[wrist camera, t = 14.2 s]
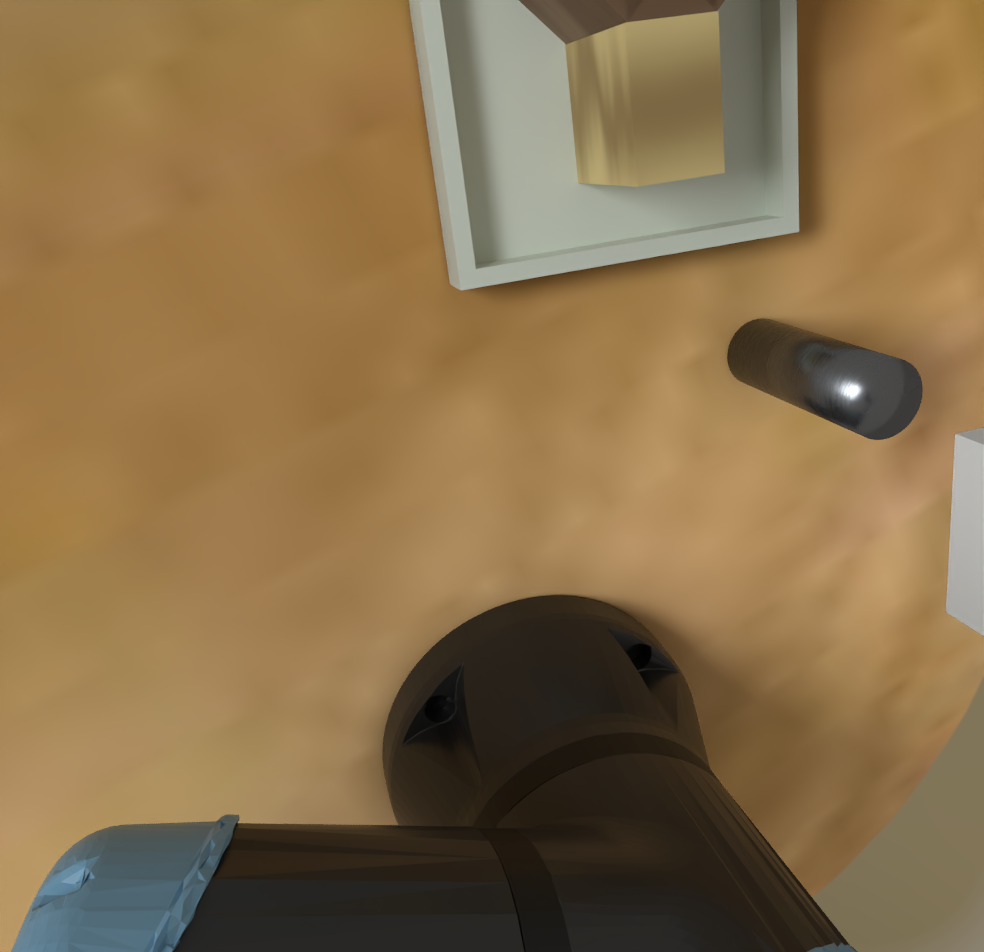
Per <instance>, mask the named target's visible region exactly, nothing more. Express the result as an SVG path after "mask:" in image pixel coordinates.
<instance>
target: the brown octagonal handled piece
mask: <svg viewBox="0 0 984 952" xmlns="http://www.w3.org/2000/svg"><path fill="white" fill-rule="evenodd" d="M519 1H520V2H521V3H522V4H523V5H524V6H525V7H526V8H527V9H528V10H529V11H531V12H532V13H533V14H534V15H535V16H536V17H537V18H538V19H539V20H540V21H541V22H542V23H543V24H545V25H546V26H547V27H548V28H549V29H550V30H551V31H552V32H553V33H554V34H555V35H556V36H557V37H559V38H560V39H561V40H562V41H563V42H564V43H565V44H566V45H565V49H566V60H567V70H568V81H569V91H570V102H571V112H572V123H573V134H574V144H575V155H576V165H577V176H578V183H585V184H601V185H617V186H633V187H640V186H646V185H652V184H658V183H665V182H671V181H677V180H684V179H690V178H696V177H702V176H709V175H715V174H721V173H725V163H724V138H723V113H722V88H721V63H720V38H719V13H718V9H719V8H720V6H721V5H722V4H723V2H724V1H725V0H519Z"/></svg>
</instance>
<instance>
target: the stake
mask: <svg viewBox="0 0 984 952" xmlns="http://www.w3.org/2000/svg"><path fill="white" fill-rule="evenodd" d="M727 359H728V365H729V368H730V371H731V372H732V374H733V375H734V377H735V378H737V379H738V380H739V381H741V382H743V383H745V384H747V385H749V386H752V387H754V388H756V389H758V390H761V391H763V392H765V393H767V394H770V395H772V396H774V397H776V398H779V399H781V400H783V401H785V402H788V403H790V404H792V405H794V406H797V407H799V408H801V409H803V410H806V411H808V412H810V413H812V414H815V415H817V416H819V417H821V418H824V419H826V420H828V421H830V422H833V423H835V424H837V425H839V426H842V427H844V428H846V429H848V430H851V431H853V432H855V433H857V434H860V435H862V436H864V437H866V438H869V439H874V440H881V439H887V438H890V437H892V436H894V435H896V434H898V433H899V432H901V431H902V430H903V429H905V428H906V427H907V426H908V425H909V423H910V422H911V421H912V420H913V418H914V417H915V415H916V413H917V411H918V409H919V406H920V403H921V399H922V381H921V378H920V375H919V373H918V372H917V370H916V369H915V368H914V366H913V365H911V364H910V363H908V362H907V361H904V360H902V359H898V358H895V357H892V356H888V355H885V354H882V353H878V352H875V351H872V350H868V349H865V348H862V347H858V346H855V345H852V344H848V343H845V342H842V341H838V340H835V339H832V338H829V337H825V336H822V335H819V334H815V333H812V332H809V331H805V330H802V329H799V328H795V327H792V326H789V325H785V324H782V323H779V322H775V321H772V320H769V319H756V320H752V321H750V322H748V323H746V324H745V325H743V326H742V327H741V328H740V329H739V330H738V331H737V332H736V333H735V335H734V336H733V338H732V340H731V342H730V345H729V348H728V355H727Z"/></svg>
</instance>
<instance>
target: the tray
mask: <svg viewBox="0 0 984 952" xmlns="http://www.w3.org/2000/svg"><path fill="white" fill-rule="evenodd" d="M409 6H410V13H411V19H412V26H413V33H414V40H415V47H416V54H417V61H418V67H419V74H420V81H421V88H422V95H423V102H424V109H425V115H426V122H427V129H428V136H429V143H430V150H431V157H432V163H433V170H434V177H435V184H436V191H437V198H438V205H439V212H440V218H441V225H442V232H443V239H444V246H445V253H446V260H447V266H448V273H449V280H450V284H451V285H452V286H454V287H456V288H457V289H459V290H467V289H473V288H478V287H484V286H490V285H496V284H501V283H507V282H513V281H519V280H525V279H530V278H536V277H542V276H548V275H553V274H559V273H565V272H571V271H576V270H582V269H588V268H594V267H600V266H605V265H611V264H617V263H623V262H628V261H634V260H640V259H646V258H651V257H657V256H663V255H669V254H674V253H680V252H686V251H692V250H698V249H703V248H709V247H715V246H721V245H726V244H732V243H738V242H744V241H749V240H755V239H761V238H767V237H772V236H778V235H784V234H790V233H796V232H799V176H798V82H797V0H725V1H724V2H723V4H722V5H721V6H720V8H719V9H718V13H719V38H720V63H721V88H722V113H723V138H724V163H725V173H721V174H715V175H709V176H702V177H696V178H690V179H684V180H677V181H671V182H665V183H658V184H652V185H646V186H640V187H633V186H617V185H601V184H585V183H578V176H577V165H576V155H575V144H574V134H573V123H572V112H571V102H570V91H569V81H568V70H567V60H566V49H565V45H566V44H565V43H564V42H563V41H562V40H561V39H560V38H559V37H557V36H556V35H555V34H554V33H553V32H552V31H551V30H550V29H549V28H548V27H547V26H546V25H545V24H543V23H542V22H541V21H540V20H539V19H538V18H537V17H536V16H535V15H534V14H533V13H532V12H531V11H529V10H528V9H527V8H526V7H525V6H524V5H523V4H522V3H521V2H520V1H519V0H409Z"/></svg>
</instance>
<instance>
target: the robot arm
mask: <svg viewBox="0 0 984 952" xmlns="http://www.w3.org/2000/svg"><path fill="white" fill-rule="evenodd" d="M946 612H947V613H948V614H950V615H951V616H953V617H954V618H956V619H958V620H959V621H961V622H962V623H964V624H965V625H967V626H968V627H970V628H972V629H973V630H975V631H976V632H978V633H979V634H981V635H982V636H984V427H983V428H979V429H975V430H970V431H966V432H961V433H957V434H955V450H954V469H953V488H952V507H951V526H950V545H949V564H948V583H947V602H946ZM383 768H384V775H385V780H386V784H387V788H388V793H389V797H390V801H391V805H392V809H393V812H394V815H395V818H396V821H397V823H398V825H324V824H248V823H237V822H238V821H239V817H240V816H239V815H224V816H222V817H221V818H220V819H219V820H218V821H216V822H188V823H160V824H132V825H119V826H112V827H108V828H105V829H102V830H99V831H96V832H94V833H92V834H90V835H88V836H86V837H85V838H83V839H81V840H80V841H79V842H77V843H76V844H74V845H73V846H72V847H71V848H70V849H69V850H68V851H67V852H66V853H65V854H64V855H63V856H62V857H61V858H60V859H59V860H58V861H57V862H56V864H55V866H54V867H53V868H52V870H51V871H50V872H49V874H48V876H47V877H46V879H45V880H44V882H43V884H42V885H41V887H40V889H39V891H38V893H37V895H36V897H35V899H34V901H33V903H32V905H31V907H30V909H29V911H28V913H27V915H26V917H25V920H24V922H23V924H22V927H21V929H20V931H19V934H18V936H17V939H16V941H15V944H14V946H13V948H12V951H11V952H857V951H856V950H855V949H854V948H853V947H851V946H850V945H849V944H848V942H847V941H846V940H845V939H844V937H843V936H842V935H841V934H840V932H839V931H838V930H837V928H836V927H835V926H834V925H833V924H832V922H831V921H830V920H829V919H828V917H827V916H826V915H825V913H824V912H823V911H822V910H821V908H820V907H819V906H818V905H817V903H816V902H815V901H814V900H813V898H812V897H811V896H810V895H809V893H808V892H807V891H806V889H805V888H804V887H803V886H802V884H801V883H800V882H799V881H798V879H797V878H796V877H795V876H794V874H793V873H792V872H791V871H790V869H789V868H788V867H787V866H786V864H785V863H784V862H783V861H782V859H781V858H780V857H779V856H778V854H777V853H776V852H775V850H774V849H773V848H772V847H771V845H770V844H769V843H768V842H767V840H766V839H765V838H764V837H763V835H762V834H761V833H760V832H759V830H758V829H757V828H756V827H755V825H754V824H753V823H752V822H751V820H750V819H749V818H748V817H747V815H746V814H745V813H744V812H743V810H742V809H741V808H740V806H739V805H738V804H737V803H736V801H735V800H734V799H733V798H732V796H731V795H730V794H729V793H728V791H727V790H726V789H725V788H724V787H723V785H722V784H721V783H720V782H719V780H718V779H717V778H716V776H715V775H714V774H713V772H712V771H711V770H710V767H709V762H708V758H707V754H706V750H705V746H704V742H703V738H702V734H701V730H700V726H699V722H698V718H697V714H696V710H695V706H694V702H693V699H692V695H691V692H690V690H689V687H688V685H687V683H686V681H685V678H684V676H683V675H682V673H681V671H680V669H679V668H678V666H677V664H676V663H675V661H674V660H673V659H672V658H671V656H670V655H669V654H668V653H667V651H666V650H665V649H664V648H663V647H662V646H661V644H660V643H659V642H658V641H657V640H656V638H655V637H654V636H653V635H652V634H651V633H650V632H649V631H648V630H647V629H646V628H645V627H644V626H643V625H642V624H641V623H639V622H638V621H637V620H635V619H634V618H633V617H631V616H629V615H628V614H626V613H625V612H623V611H621V610H619V609H617V608H615V607H612V606H610V605H607V604H604V603H601V602H598V601H595V600H590V599H586V598H580V597H571V596H543V597H535V598H528V599H523V600H518V601H515V602H511V603H507V604H504V605H501V606H499V607H496V608H493V609H491V610H488V611H486V612H484V613H482V614H480V615H478V616H476V617H474V618H472V619H470V620H468V621H467V622H465V623H463V624H462V625H460V626H459V627H457V628H456V629H454V630H453V631H451V632H450V633H449V634H448V635H446V636H445V637H444V638H442V639H441V640H440V641H439V642H438V643H437V644H436V645H434V646H433V647H432V648H431V649H430V650H429V651H428V652H427V653H426V654H425V655H424V656H423V658H422V659H421V660H420V661H419V662H418V663H417V665H416V666H415V667H414V669H413V670H412V671H411V673H410V674H409V675H408V677H407V678H406V680H405V682H404V683H403V685H402V687H401V688H400V690H399V692H398V694H397V696H396V698H395V700H394V703H393V705H392V708H391V710H390V713H389V716H388V720H387V723H386V728H385V733H384V740H383Z"/></svg>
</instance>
